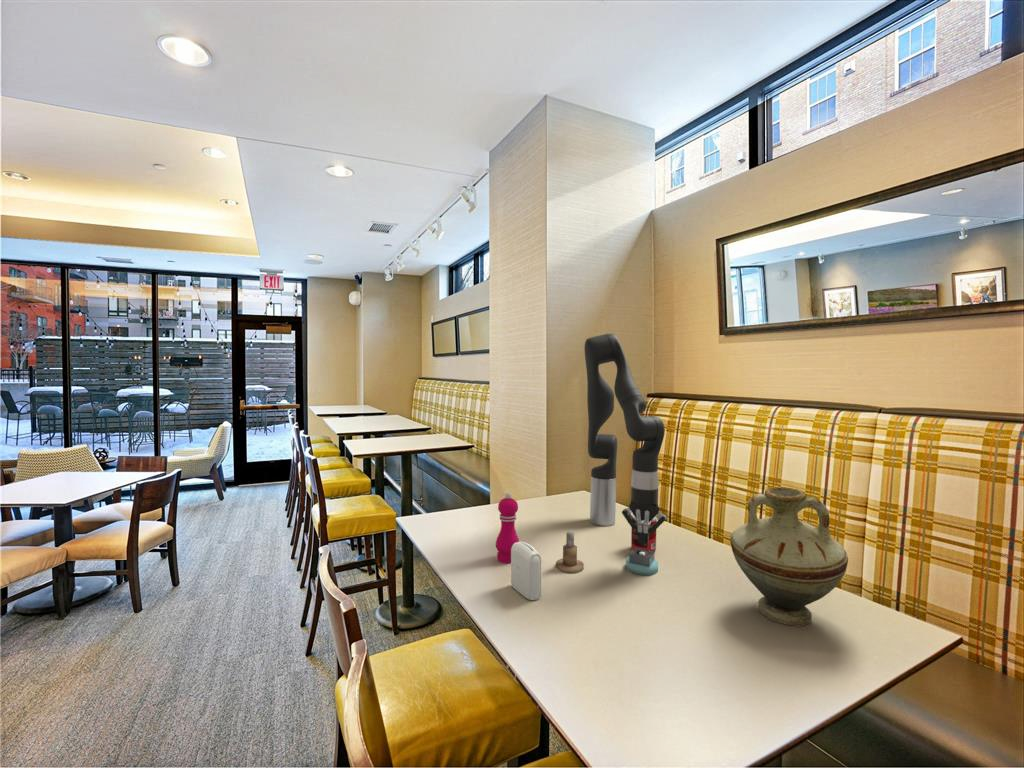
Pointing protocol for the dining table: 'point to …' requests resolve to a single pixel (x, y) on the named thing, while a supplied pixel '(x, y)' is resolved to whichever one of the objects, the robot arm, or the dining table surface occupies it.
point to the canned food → (652, 538)
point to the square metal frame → (641, 557)
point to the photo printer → (526, 570)
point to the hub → (642, 567)
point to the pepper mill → (506, 528)
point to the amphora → (788, 555)
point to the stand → (569, 557)
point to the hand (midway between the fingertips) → (643, 544)
